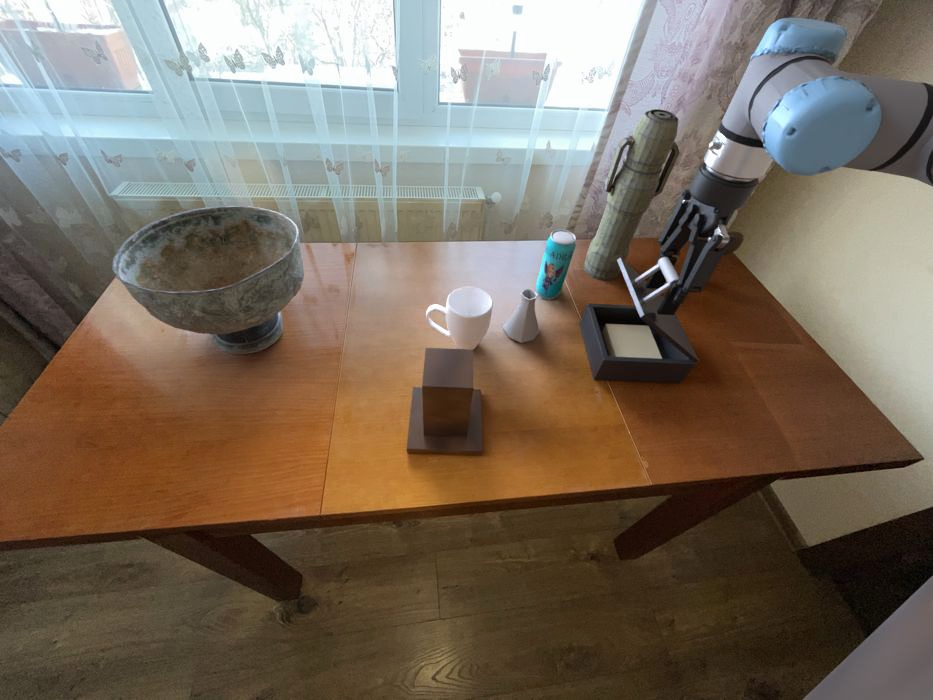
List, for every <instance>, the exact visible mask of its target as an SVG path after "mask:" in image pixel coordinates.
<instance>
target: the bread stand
mask: <svg viewBox="0 0 933 700" xmlns="http://www.w3.org/2000/svg"><path fill="white" fill-rule="evenodd" d="M411 393H412V395H411V404H410V414H409V423H408V432H407V439H406V453H407V454H419V455H421V454H422V455H425V454H426V455H458V456H461V455H462V456H483V452H484V451H483V450H484V449H483V416H482V415H483V414H482V413H483V412H482V389H481V388H475V387H474V349H473V350H470V349H458V348H447V347H446V348H444V347H425V350H424V361H423V371H422V382H421V386H412V392H411Z"/></svg>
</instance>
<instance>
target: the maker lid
mask: <svg viewBox="0 0 933 700" xmlns="http://www.w3.org/2000/svg"><path fill="white" fill-rule="evenodd" d="M658 259H659V258H658ZM657 261H658V260H657ZM617 262H618V264H619V266H620V271H621V274H622V276H623V279H624V281H625V284H626V287H627V288H628V291H629V294H630V296H631V299H632V302H633V304H634V306H636V309H637V311H638V314H639V316H640V318H641V319H642V320H644V321H645V322H646V323H647V324H648V325H650V326H651V327H652V328H653V329H654V330H656V331H657V332H658V333H659V334H660V335H662V336H663V337H664V338H665V339H666V340H668V341H669V342H670V343H671V344H672V345H674V346H675V347H676V348H677V349H678V350H680V351H681V352H682V353H683V354H684V355H686V356H687V357H688V358H689V359H690V360H692V361H693V362H694V363H696V364H697V363H699V362H700V360H699V357H698V355H697V354H696V351H695V350H694V347H693V345H692V344H691V341H690V339H689V337H688V335H687V334H686V331H685V329H684V327H683V325H682V322H681V321H680V319H679V317H678V315H677V313H676V312H675V314H674V315H659V314H658V313H657V310H658V308H659V307H660V305H661V303H662V301H663V299H664V298H665V296H663V295H662V294H663V293H664V292H666V291H669V289H670V287H671V285H672V283H673V282H678V279H679V276H680V275H678V273H677V271H676V269H675V266H674V267H673V265H672V263H671V262H670V260H669V258H668V257H662V258H661V259H659V261H658V264H657V265H656V264H655V265H654V266H653V267H651V268H649V269H647V271H645V272H644V273H642V274H639V273H638V272H637V271H636V270H635V269H634V268H633V267H632V266H631V265H630V264H628V263H627V262H626V260H625V261H624V260H623V259H622V258H619V259H618V260H617ZM659 269H661V271H662V273H663V275H664V277H665V279H666V283H664V285H663V286H662V287H660V288H659V289H648V288H646V284H647V282H648V280H646V279H648V278H650V276H651V275H652V274H653V273H655V272H656V271H658V270H659Z"/></svg>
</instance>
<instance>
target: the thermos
mask: <svg viewBox="0 0 933 700" xmlns="http://www.w3.org/2000/svg"><path fill="white" fill-rule="evenodd" d="M678 129H679V118H678V116H676V114H675V113H673V112H671V111H669V110H665V109H660V108H659V109H658V108H657V109H656V108H654V109H650V110H647V111H645V112H644V113H643V115H642V116H641V118H640V119H639V121H638V122H637V124H636V125H635V127H634V129H633V132H632V135H628V137H624V138H623V139H622V140H621V141H620V142H619V143H618V144H617V146H616V149H615V152H614V155H613V159H612V161H611V164H610V167H609V170H608V173H607V176H606V179H605V183H604V187H603V190H604V191H605V192H606V193H607V196H606V201H607V203H606V205H605V209H604V211H603V214H602V217H601V220H600V222H599V225H598V228H597V231H596V234H595V236H594V237H593V238H592V240H591V241H590V244H589V246H588V250H587V252H586V255H585V261H584V263H583V270H584V272H585V273H587V274H588V276H590V277H592V278H593V279H597V280H600V281H612V280H615V279H617V277H618V276H619V274H620V271H621V269H620V266H619V264H618V262H617V260H618V259H619V258H622V259H623V260H624V261H625V262H626V260H627V257H628V256H629V253H630V245H631V242H632V240H633V238H634V236H635V233H636V231H637V229H638V227H639V224H640V222H641V219H642V217H643V215H644V214H645V213H646V212H647V211H648V209H649V207H650V205H651V203H652V200H654V198H655V197H658V196H659V195H660V194H662V193H663V190H664V188H665V186H666V184H667V182H668V179H669V178H670V175H671V173H672V171H673V169H674V167H675V164H676V162H677V160H678V158H679V156H680V150H679V149H680V148H679V146H678V144H677V142H676V141H675V140H676V138H677V135H678ZM626 148H627V149H626ZM625 149H626V152H625V158H624V159H623V160H622V163H621V166H620V167H619V165H620V162H621V159H622V156H623V153H624V151H625ZM663 165H664V167H663ZM618 167H619V169H618ZM662 168H663V169H662Z"/></svg>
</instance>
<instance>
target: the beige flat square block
mask: <svg viewBox="0 0 933 700" xmlns="http://www.w3.org/2000/svg"><path fill="white" fill-rule="evenodd" d="M602 333H603V337H604V340H605V343H606V347H607V350H608V353H609V356H613V357H636V358H659V359H662V357H661V354H660V352H659V350H658V347H657V345H656V342H655V340H654V337H653V335H652V333H651V330H650V328H649V326H643V325H622V324H605V326H604V328H603V331H602Z"/></svg>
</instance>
